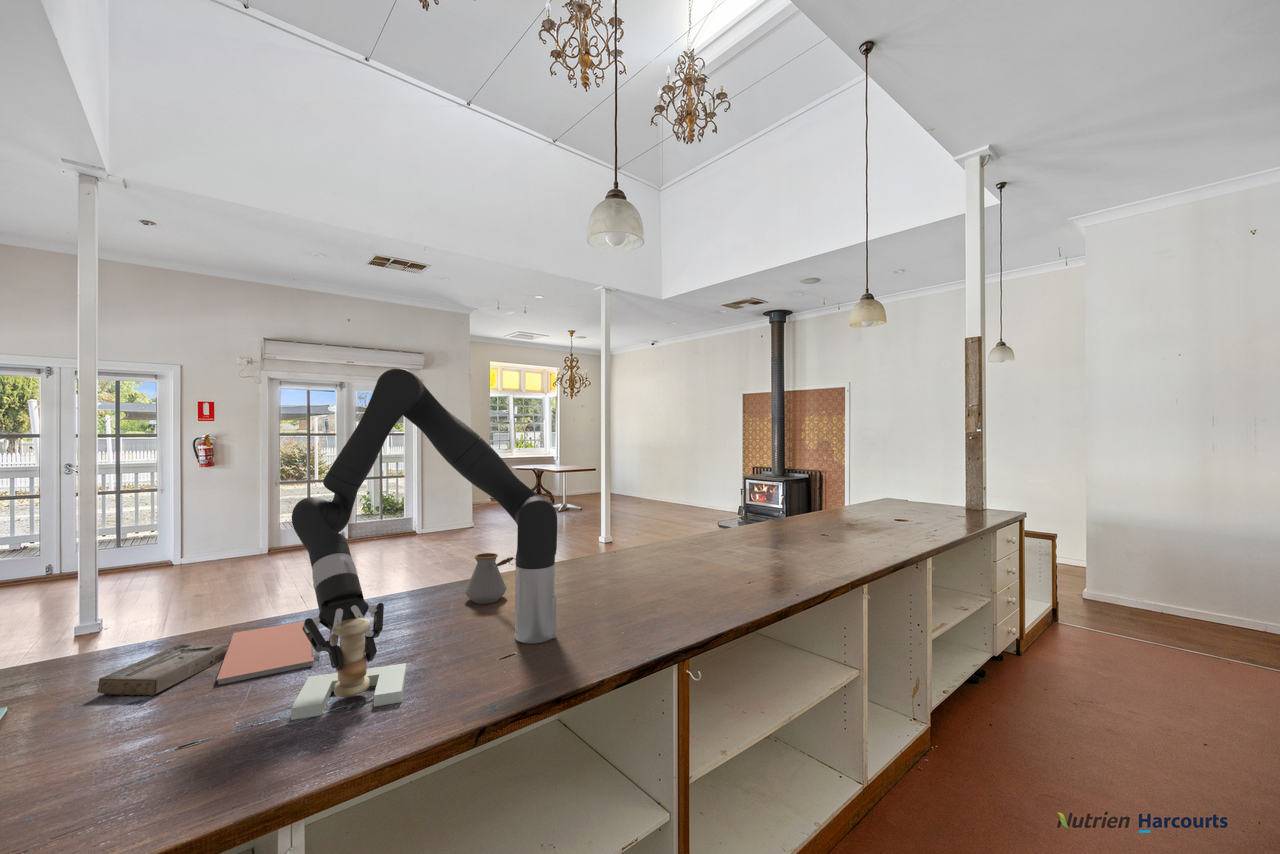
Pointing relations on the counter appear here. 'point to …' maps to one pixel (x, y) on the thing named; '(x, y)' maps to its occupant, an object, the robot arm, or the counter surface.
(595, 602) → the counter surface
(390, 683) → the notched board
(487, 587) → the coffee pot
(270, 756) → the counter surface
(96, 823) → the counter surface
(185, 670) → the box
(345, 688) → the bobbin
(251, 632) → the notebook
